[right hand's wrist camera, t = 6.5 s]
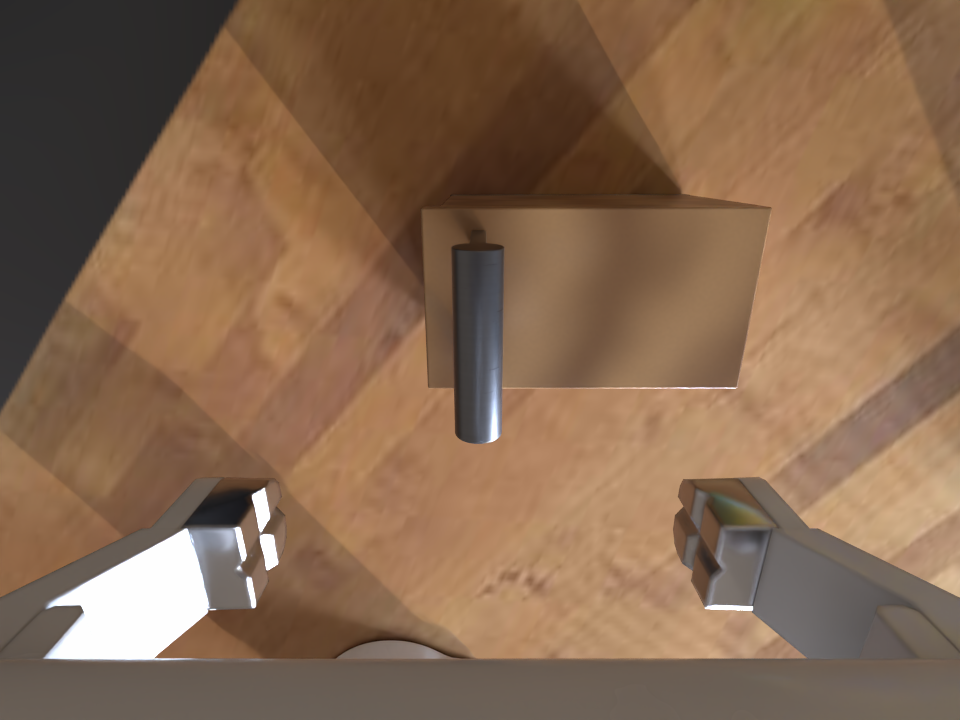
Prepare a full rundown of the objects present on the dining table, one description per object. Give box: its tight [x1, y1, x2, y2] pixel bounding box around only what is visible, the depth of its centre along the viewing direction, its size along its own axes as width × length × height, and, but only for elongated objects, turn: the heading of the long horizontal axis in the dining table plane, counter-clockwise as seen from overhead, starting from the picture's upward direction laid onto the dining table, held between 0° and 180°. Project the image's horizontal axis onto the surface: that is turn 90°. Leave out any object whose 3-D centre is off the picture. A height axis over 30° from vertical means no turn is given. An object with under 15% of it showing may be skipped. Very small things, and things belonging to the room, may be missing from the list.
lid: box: [421, 205, 772, 444], centre depth 23 cm, size 16×9×8 cm, turn 90°
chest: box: [442, 194, 753, 206], centre depth 31 cm, size 16×9×10 cm, turn 90°
